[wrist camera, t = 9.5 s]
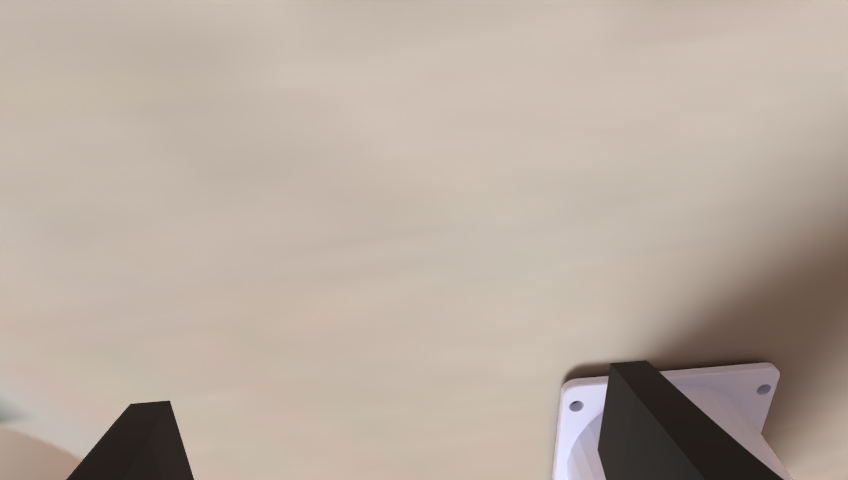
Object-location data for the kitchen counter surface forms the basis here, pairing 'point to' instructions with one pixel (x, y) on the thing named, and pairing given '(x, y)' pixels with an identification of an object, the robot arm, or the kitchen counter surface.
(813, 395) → the kitchen counter surface
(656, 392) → the robot arm
